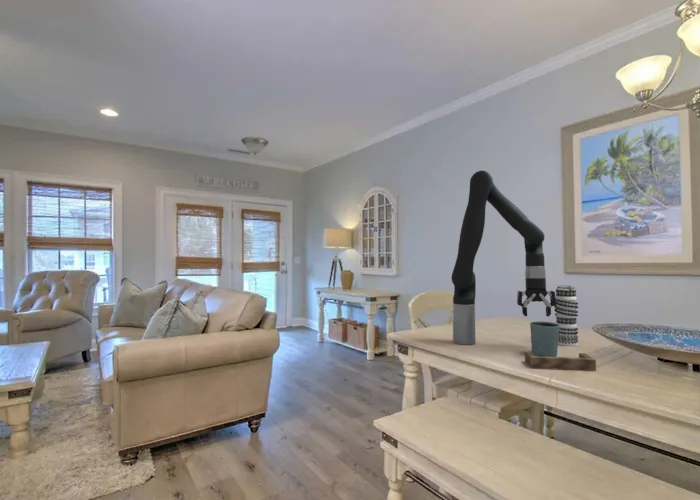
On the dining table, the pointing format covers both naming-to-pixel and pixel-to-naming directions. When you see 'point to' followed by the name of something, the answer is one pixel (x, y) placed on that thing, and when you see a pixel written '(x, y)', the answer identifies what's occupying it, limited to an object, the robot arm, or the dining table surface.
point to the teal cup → (544, 338)
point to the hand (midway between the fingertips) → (536, 316)
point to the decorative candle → (566, 314)
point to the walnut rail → (561, 362)
